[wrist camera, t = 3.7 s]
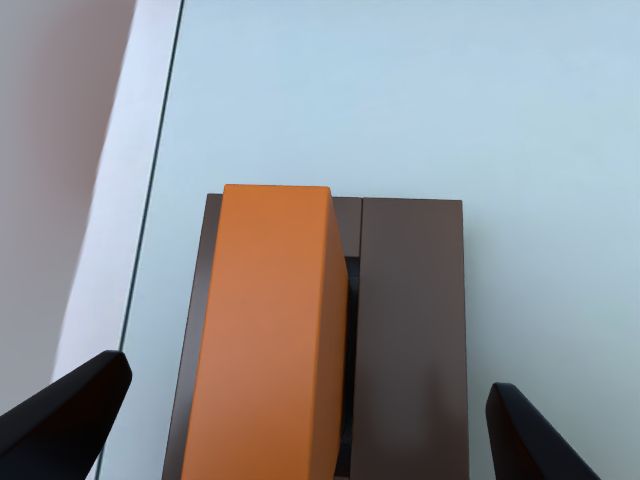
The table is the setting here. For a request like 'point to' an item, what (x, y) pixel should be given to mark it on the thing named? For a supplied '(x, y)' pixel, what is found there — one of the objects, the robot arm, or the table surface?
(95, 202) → the table surface
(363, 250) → the holder
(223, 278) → the block
